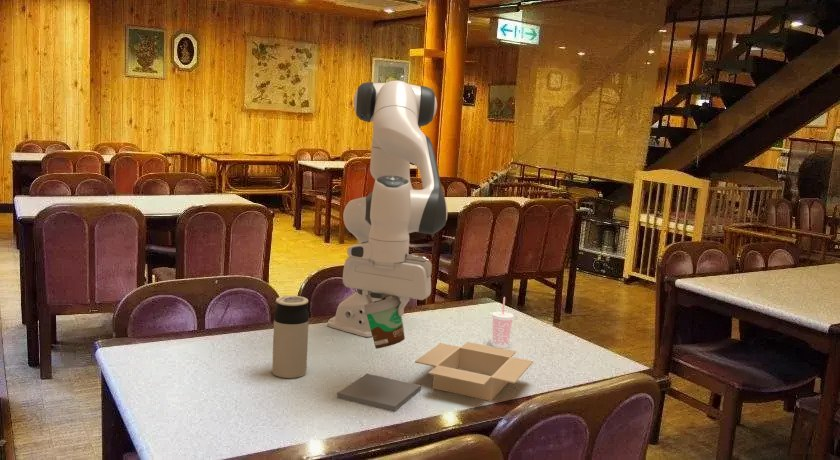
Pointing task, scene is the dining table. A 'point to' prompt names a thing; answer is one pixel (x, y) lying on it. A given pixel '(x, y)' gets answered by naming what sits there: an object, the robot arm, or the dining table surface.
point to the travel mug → (290, 337)
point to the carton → (473, 369)
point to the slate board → (379, 392)
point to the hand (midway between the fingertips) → (384, 312)
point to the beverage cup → (501, 328)
